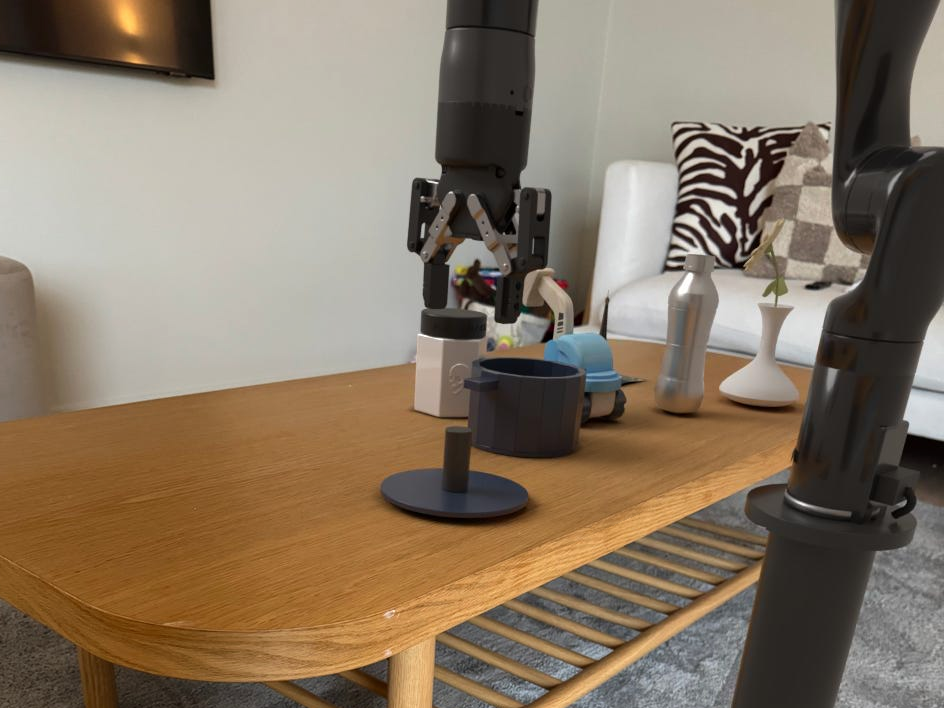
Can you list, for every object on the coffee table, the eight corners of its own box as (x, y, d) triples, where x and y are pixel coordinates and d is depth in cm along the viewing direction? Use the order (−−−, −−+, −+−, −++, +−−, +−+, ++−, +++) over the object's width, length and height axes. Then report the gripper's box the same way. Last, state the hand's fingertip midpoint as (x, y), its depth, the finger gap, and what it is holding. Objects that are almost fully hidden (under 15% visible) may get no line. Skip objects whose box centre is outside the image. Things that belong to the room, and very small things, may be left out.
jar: (421, 418, 117) (426, 315, 112) (407, 403, 124) (411, 306, 119) (491, 418, 120) (499, 318, 114) (472, 404, 127) (479, 308, 121)
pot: (612, 444, 112) (623, 370, 108) (510, 467, 100) (517, 384, 96) (531, 422, 119) (538, 352, 116) (426, 440, 107) (430, 363, 104)
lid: (557, 506, 89) (565, 436, 86) (454, 535, 80) (459, 457, 77) (454, 471, 97) (458, 406, 94) (349, 493, 88) (350, 422, 85)
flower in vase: (742, 392, 147) (775, 216, 137) (810, 407, 140) (852, 222, 130) (695, 401, 139) (727, 213, 128) (766, 417, 132) (806, 220, 121)
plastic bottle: (682, 420, 127) (709, 258, 118) (641, 409, 131) (664, 252, 122) (710, 415, 131) (738, 258, 122) (669, 405, 135) (694, 252, 126)
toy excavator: (544, 397, 134) (557, 266, 127) (629, 424, 122) (650, 281, 115) (496, 401, 129) (507, 265, 122) (580, 429, 117) (598, 281, 110)
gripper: (390, 96, 78) (382, 305, 85) (520, 96, 69) (500, 330, 76) (455, 106, 83) (443, 303, 90) (585, 108, 74) (560, 326, 81)
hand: (469, 315), depth 83 cm, fingers open, 8 cm apart
